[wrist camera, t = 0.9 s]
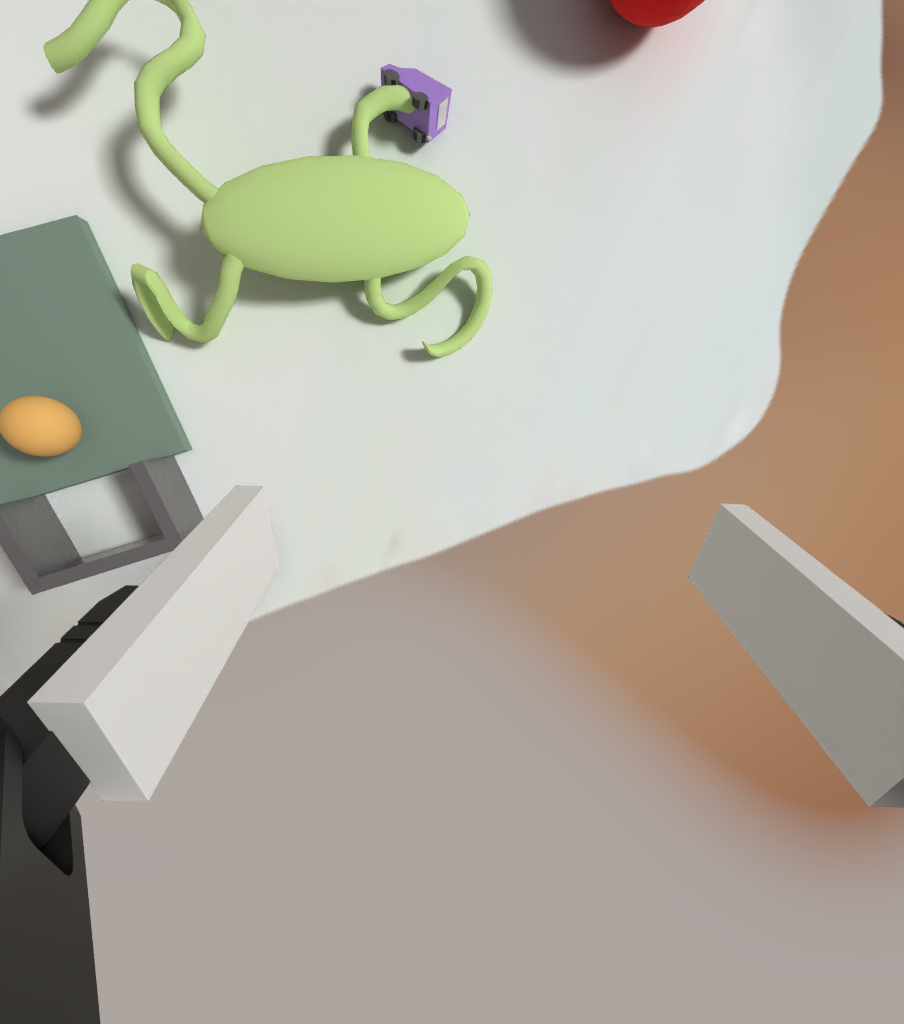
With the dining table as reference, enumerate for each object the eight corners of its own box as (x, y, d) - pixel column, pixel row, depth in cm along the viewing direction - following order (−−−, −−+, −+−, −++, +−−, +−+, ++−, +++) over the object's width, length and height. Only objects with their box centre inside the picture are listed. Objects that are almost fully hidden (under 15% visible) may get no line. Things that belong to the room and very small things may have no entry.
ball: (21, 406, 29) (-37, 405, 25) (78, 390, 29) (29, 386, 25) (52, 460, 30) (0, 467, 26) (106, 444, 30) (63, 448, 26)
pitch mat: (-156, 287, 27) (-177, 282, 26) (87, 222, 28) (76, 215, 27) (-16, 512, 31) (-29, 515, 30) (192, 449, 32) (186, 450, 31)
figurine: (88, 29, 26) (6, -73, 20) (499, 92, 29) (522, 18, 24) (127, 340, 30) (67, 323, 25) (483, 363, 33) (500, 352, 28)
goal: (31, 498, 31) (-22, 509, 27) (173, 455, 32) (142, 460, 28) (75, 573, 33) (32, 594, 29) (209, 531, 33) (185, 546, 30)
